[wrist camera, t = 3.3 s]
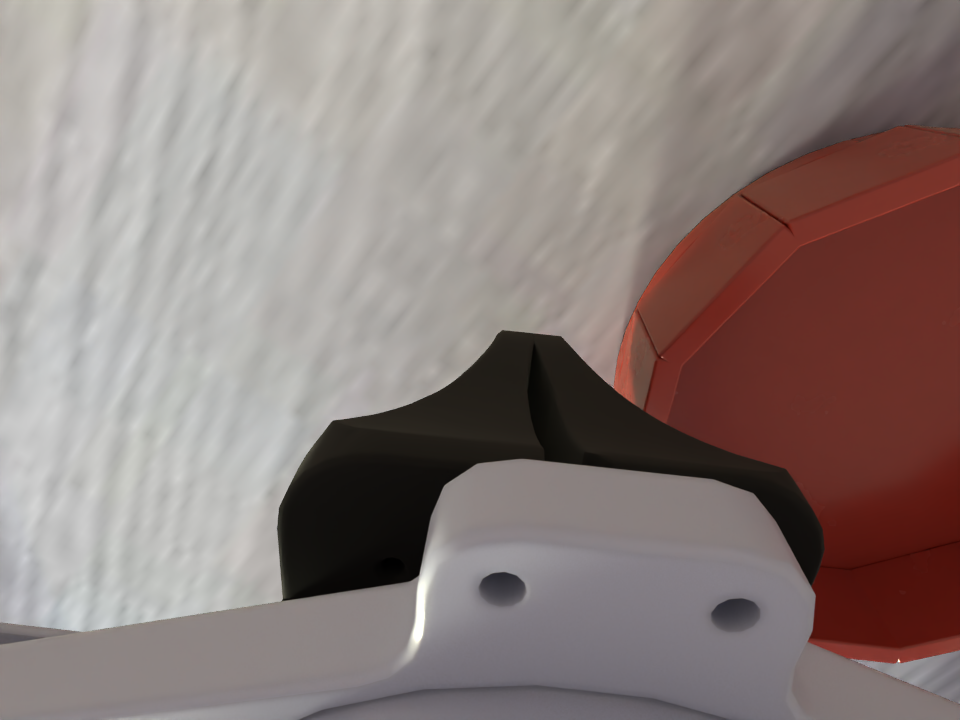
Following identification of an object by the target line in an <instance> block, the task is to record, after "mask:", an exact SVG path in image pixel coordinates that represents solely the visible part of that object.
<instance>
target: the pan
mask: <svg viewBox="0 0 960 720" xmlns="http://www.w3.org/2000/svg"><path fill="white" fill-rule="evenodd" d="M614 389H615V390H616V391H617V392H618V393H619V394H621V395H622V396H623V397H625V398H626V399H627V400H629V401H630V402H631V403H633V404H634V405H636V406H637V407H639V408H640V409H642V410H643V411H645V412H646V413H648V414H650V415H651V416H653V417H655V418H656V419H658V420H660V421H661V422H663V423H665V424H667V425H669V426H671V427H673V428H675V429H677V430H679V431H681V432H683V433H685V434H687V435H689V436H691V437H694V438H696V439H698V440H700V441H703V442H705V443H708V444H710V445H713V446H715V447H718V448H721V449H723V450H726V451H728V452H731V453H734V454H737V455H740V456H744V457H747V458H751V459H754V460H757V461H761V462H764V463H768V464H771V465H774V466H778V467H781V468H785V469H786V470H787V471H788V472H789V474H790V475H791V476H792V478H793V479H794V481H795V483H796V484H797V486H798V487H799V489H800V490H801V492H802V493H803V495H804V496H805V498H806V500H807V501H808V503H809V504H810V506H811V508H812V509H813V511H814V513H815V515H816V517H817V519H818V521H819V523H820V525H821V527H822V529H823V537H824V547H825V550H824V554H823V558H822V561H821V565H820V569H819V571H818V573H817V576H816V578H815V580H814V582H813V584H812V589H813V591H814V593H815V595H816V597H815V609H814V621H813V631H812V633H811V635H810V637H809V639H808V641H807V642H809V643H811V644H813V645H816V646H818V647H821V648H823V649H826V650H828V651H831V652H833V653H835V654H838V655H840V656H843V657H845V658H848V659H858V660H867V661H876V662H885V663H893V664H894V663H897V661H898V662H899V663H904V662H909V661H913V660H918V659H923V658H927V657H932V656H936V655H941V654H945V653H950V652H954V651H959V650H960V128H939V127H929V126H919V125H909V124H908V125H905V126H897V127H895V128H893V129H890V130H888V131H885V132H881V133H876V134H872V135H867V136H863V137H859V138H854V139H850V140H845V141H842V142H840V143H837V144H834V145H831V146H828V147H825V148H823V149H820V150H817V151H814V152H811V153H808V154H806V155H804V156H801V157H799V158H797V159H795V160H793V161H791V162H789V163H787V164H785V165H783V166H781V167H779V168H777V169H775V170H773V171H771V172H769V173H767V174H765V175H764V176H762V177H761V178H759V179H757V180H756V181H754V182H753V183H751V184H750V185H748V186H746V187H745V188H743V189H742V190H740V191H738V192H737V193H735V194H734V195H733V196H731V197H730V198H729V199H728V200H726V201H725V202H724V203H723V204H721V205H720V206H719V207H718V208H716V209H715V210H714V211H713V212H711V213H710V214H709V215H708V216H706V217H705V218H704V219H703V220H702V221H701V222H700V223H699V224H698V225H697V226H696V227H695V228H694V229H693V230H692V231H691V232H690V233H689V234H688V235H687V236H686V237H685V238H684V239H683V240H682V241H681V242H680V243H679V244H678V245H677V246H676V248H675V249H674V250H673V251H672V253H671V254H670V255H669V256H668V258H667V259H666V260H665V262H664V263H663V264H662V265H661V267H660V268H659V269H658V270H657V272H656V273H655V275H654V276H653V278H652V280H651V281H650V283H649V285H648V286H647V288H646V290H645V291H644V293H643V295H642V296H641V298H640V299H639V301H638V303H637V306H636V308H635V310H634V312H633V315H632V317H631V319H630V321H629V324H628V326H627V328H626V331H625V334H624V338H623V341H622V345H621V348H620V352H619V355H618V359H617V367H616V374H615V381H614Z"/></svg>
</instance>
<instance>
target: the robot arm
mask: <svg viewBox="0 0 960 720" xmlns="http://www.w3.org/2000/svg"><path fill="white" fill-rule="evenodd" d="M277 531H278V543H279V556H280V568H281V581H282V593H283V600H282V601H281V602H275V603H268V604H262V605H255V606H249V607H242V608H236V609H229V610H223V611H216V612H210V613H203V614H197V615H190V616H184V617H177V618H171V619H164V620H158V621H151V622H145V623H138V624H132V625H125V626H119V627H113V628H106V629H100V630H93V631H87V632H79V631H70V630H61V629H52V628H43V627H34V626H26V625H17V624H8V623H0V720H960V704H958V703H955V702H953V701H950V700H948V699H946V698H943V697H941V696H938V695H936V694H933V693H931V692H928V691H926V690H924V689H921V688H919V687H916V686H914V685H911V684H909V683H906V682H904V681H902V680H899V679H897V678H894V677H892V676H889V675H887V674H884V673H882V672H880V671H877V670H875V669H872V668H870V667H867V666H865V665H862V664H860V663H858V662H855V661H853V660H850V659H848V658H845V657H843V656H840V655H838V654H835V653H833V652H831V651H828V650H826V649H823V648H821V647H818V646H816V645H813V644H811V643H809V642H807V641H808V639H809V637H810V635H811V633H812V631H813V621H814V609H815V597H816V595H815V593H814V591H813V589H812V584H813V582H814V580H815V578H816V576H817V573H818V571H819V569H820V565H821V561H822V558H823V554H824V550H825V547H824V537H823V529H822V527H821V525H820V523H819V521H818V519H817V517H816V515H815V513H814V511H813V509H812V508H811V506H810V504H809V503H808V501H807V500H806V498H805V496H804V495H803V493H802V492H801V490H800V489H799V487H798V486H797V484H796V483H795V481H794V479H793V478H792V476H791V475H790V474H789V472H788V471H787V470H786V469H785V468H781V467H778V466H774V465H771V464H768V463H764V462H761V461H757V460H754V459H751V458H747V457H744V456H740V455H737V454H734V453H731V452H728V451H726V450H723V449H721V448H718V447H715V446H713V445H710V444H708V443H705V442H703V441H700V440H698V439H696V438H694V437H691V436H689V435H687V434H685V433H683V432H681V431H679V430H677V429H675V428H673V427H671V426H669V425H667V424H665V423H663V422H661V421H660V420H658V419H656V418H655V417H653V416H651V415H650V414H648V413H646V412H645V411H643V410H642V409H640V408H639V407H637V406H636V405H634V404H633V403H631V402H630V401H629V400H627V399H626V398H625V397H623V396H622V395H621V394H619V393H618V392H617V391H616V390H615V389H613V388H612V387H611V386H610V385H609V384H607V383H606V382H605V381H604V380H603V379H602V378H601V377H600V376H599V375H597V374H596V373H595V372H594V371H593V370H592V369H591V368H590V367H589V366H588V365H587V364H586V363H585V362H584V361H583V360H582V359H581V357H580V356H579V355H578V354H577V353H576V352H575V351H574V350H573V349H572V348H571V347H570V345H569V344H568V343H567V342H566V341H565V340H564V339H563V338H562V337H561V336H552V335H543V334H533V333H524V332H514V331H504V330H502V331H501V332H500V333H498V334H497V336H496V338H495V340H494V341H493V343H492V344H491V345H490V346H489V348H488V349H487V350H486V351H485V353H484V354H483V355H482V356H481V357H480V358H479V359H478V360H477V361H476V362H475V363H474V364H473V365H472V366H471V367H470V368H469V369H468V370H467V371H465V372H464V373H463V374H462V375H461V376H460V377H459V378H457V379H456V380H455V381H453V382H452V383H451V384H449V385H448V386H446V387H445V388H443V389H441V390H440V391H438V392H436V393H434V394H432V395H429V396H427V397H425V398H423V399H420V400H418V401H416V402H414V403H412V404H409V405H406V406H403V407H400V408H397V409H394V410H390V411H386V412H383V413H378V414H374V415H369V416H362V417H356V418H349V419H343V420H334V421H332V422H331V423H330V425H329V426H328V427H327V429H326V430H325V431H324V433H323V434H322V435H321V436H320V438H319V439H318V440H317V441H316V443H315V444H314V445H313V447H312V448H311V449H310V451H309V452H308V454H307V455H306V457H305V458H304V460H303V462H302V463H301V465H300V467H299V468H298V470H297V472H296V474H295V476H294V478H293V480H292V482H291V484H290V486H289V488H288V490H287V492H286V494H285V496H284V499H283V501H282V503H281V505H280V507H279V515H278V526H277Z"/></svg>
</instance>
